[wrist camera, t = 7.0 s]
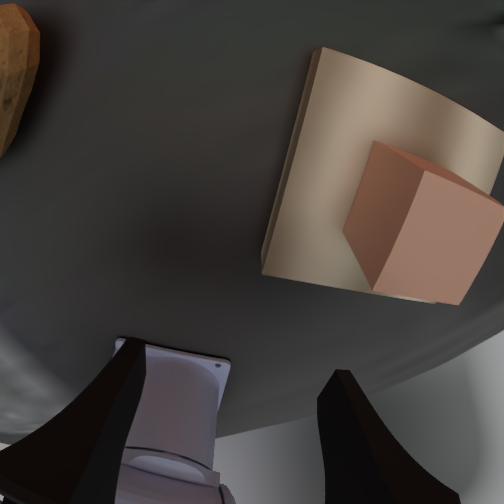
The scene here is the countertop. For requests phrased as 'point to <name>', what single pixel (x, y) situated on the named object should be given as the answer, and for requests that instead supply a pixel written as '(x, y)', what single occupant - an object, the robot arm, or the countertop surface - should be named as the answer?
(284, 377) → the countertop surface
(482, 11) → the countertop surface
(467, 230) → the cube
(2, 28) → the potato
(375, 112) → the pedestal
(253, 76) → the countertop surface
